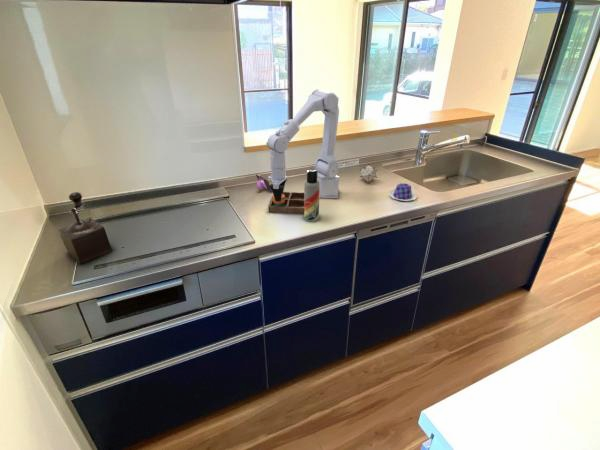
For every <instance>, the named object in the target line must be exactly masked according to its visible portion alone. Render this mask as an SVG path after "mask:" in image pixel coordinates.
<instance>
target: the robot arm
mask: <svg viewBox="0 0 600 450" xmlns="http://www.w3.org/2000/svg"><path fill="white" fill-rule="evenodd" d="M339 108H340V107H339V97H338V96H337V95H336V93H335V92H329V91H324V90H322V89H315V90H313V91H311V93H310V94H309V95H308V97H307V100H306V101H305V102H304V104H303V105H302V107H301V108H300V110H299V111H298V112H297V113H296V115H295V116H294V117H293V118H292V119H287V120H285V121H284V122H283V124H282V126H281V127H280V128H279V129H278V130H276V132H275V133H273V134H271V135H270V136H269V137H268V138H267V141H266V146H267V148H268V149H269V157H270V158H269V161H270V175H268V177H267V180H270V181H271V184H270V183H269V185H270V189H271V190H272V192H271V193H272V195H273V194H274V198H275V201H281V198H282V194H283V192H285V191H284V190H285V185H286V183H287V181H288V178H287V174H286V173H287V172H286V170H287V169H286V151H287V150H288V148H289V144H290V141H291V140H292V139H293V138H294V137H295V136H296V135H297V134H298V132H299V131H300V126H301V125H302V124H303V123H304V122H305V121H306V120H307V119H308V118H309V117H310V116H311V115H312V114H313V113H315V112H321V113H323V115H324V120H323V121H324V123H323V131H322V142H321V152H320V154H318V155H317V156H316V161H315V163H314V170H317V181H319V183H320V192H319V199H321V198H322V199H338V198H339V192H340V188H339V185H340V184H339V183H340V176H339V175H338V174H339V160H338V158H337V157H336V155H335V151H336V144H337V143H336V142H337V133H338V124H339V117H340V109H339Z"/></svg>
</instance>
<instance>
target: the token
mask: <svg viewBox="0 0 600 450" xmlns="http://www.w3.org/2000/svg"><path fill="white" fill-rule="evenodd" d="M272 196H273V202H274V203H276V204H282V203H284V202H285V195H284V194H282V198H281V201H275V198H274V195H273V194H272Z"/></svg>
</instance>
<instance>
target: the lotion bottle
mask: <svg viewBox="0 0 600 450" xmlns="http://www.w3.org/2000/svg"><path fill="white" fill-rule="evenodd" d="M303 186H304V187H303V188H304V189H303V192H304V214H303V217H304V220H305V221H307V222H317V221H319V218H320V198H319V192H320V183H319V181H318V174H317V170H315V169H309V170H306V180H305V181H304V185H303Z"/></svg>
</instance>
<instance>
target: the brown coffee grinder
mask: <svg viewBox="0 0 600 450" xmlns="http://www.w3.org/2000/svg"><path fill="white" fill-rule="evenodd" d="M82 198H83V194H82V193H81V192H79V191H74V192H71V193H70V194H69V195H68V199H69V201H71V202H72V203H73V207H71V208H70V209H69V210H68V213H69V215H72V216H74V218H75V222H74V223H72V224H69V225H66V226H64V227H61V228H58V229H57V230H58V234H59V236H60V238H61V240H62V243H63V245H64V247H65V249H66V252H67V254H68V255H69V256H70V257H71V258H72V259H73V260H74V261H75V262H77V263H78V264H80V265H82V264H85V263H88V262H90V261H92V260H95V259H97V258H100V257H102V256H104V255H106V254H108V253H111V252H112V251H113V249H112V246H111V244H110V240H109V237H108V234H107V232H106V231H107V230H106V228H105V227H104V226H103V225H101V223H99V222H98V221H97V220H95V219H93V218H92V217H88V218H85V219H81V220H80V217H79V215H78V214H79V212H78V211H77V209H79V208H81V207H82V206H83V205H84V202H83V201H82Z"/></svg>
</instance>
